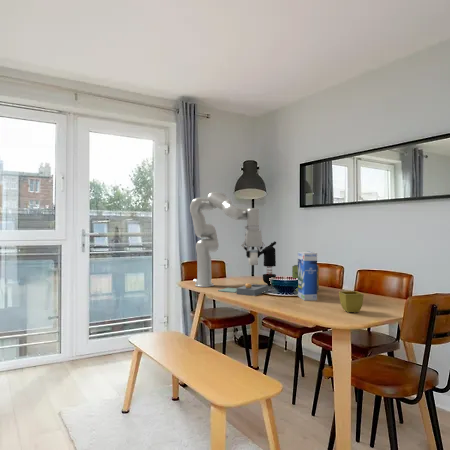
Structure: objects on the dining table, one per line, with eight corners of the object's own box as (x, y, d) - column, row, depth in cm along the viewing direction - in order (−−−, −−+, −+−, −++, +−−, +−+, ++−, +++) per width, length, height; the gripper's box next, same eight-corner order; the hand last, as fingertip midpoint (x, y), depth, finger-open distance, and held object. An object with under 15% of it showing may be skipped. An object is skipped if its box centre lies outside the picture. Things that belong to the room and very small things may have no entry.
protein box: (317, 292, 233) (317, 266, 233) (292, 291, 238) (291, 266, 238) (319, 289, 242) (318, 265, 243) (294, 288, 247) (294, 264, 248)
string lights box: (297, 296, 220) (297, 251, 220) (310, 296, 220) (310, 251, 221) (304, 300, 207) (304, 252, 207) (318, 300, 207) (317, 252, 207)
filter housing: (236, 294, 228) (236, 288, 228) (251, 289, 244) (251, 284, 244) (254, 295, 222) (254, 289, 222) (268, 291, 238) (268, 285, 238)
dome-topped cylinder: (250, 265, 234) (250, 250, 234) (247, 264, 239) (247, 249, 239) (258, 264, 235) (258, 250, 235) (256, 264, 240) (256, 249, 240)
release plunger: (244, 293, 228) (244, 284, 228) (247, 292, 231) (247, 283, 231) (249, 293, 226) (249, 284, 226) (252, 292, 229) (252, 283, 229)
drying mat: (218, 291, 239) (218, 290, 239) (228, 288, 249) (228, 287, 249) (234, 292, 232) (234, 291, 232) (244, 290, 243) (244, 289, 243)
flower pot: (338, 310, 184) (338, 291, 184) (356, 309, 184) (355, 290, 184) (345, 314, 175) (345, 294, 175) (364, 313, 176) (364, 294, 176)
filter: (272, 284, 265) (271, 241, 265) (280, 286, 257) (279, 241, 257) (255, 285, 259) (255, 241, 259) (263, 287, 251) (262, 241, 251)
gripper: (241, 228, 231) (241, 258, 231) (268, 228, 235) (268, 257, 235) (238, 228, 239) (238, 257, 239) (264, 228, 243) (264, 256, 243)
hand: (253, 257), depth 237 cm, fingers closed on dome-topped cylinder, 5 cm apart
